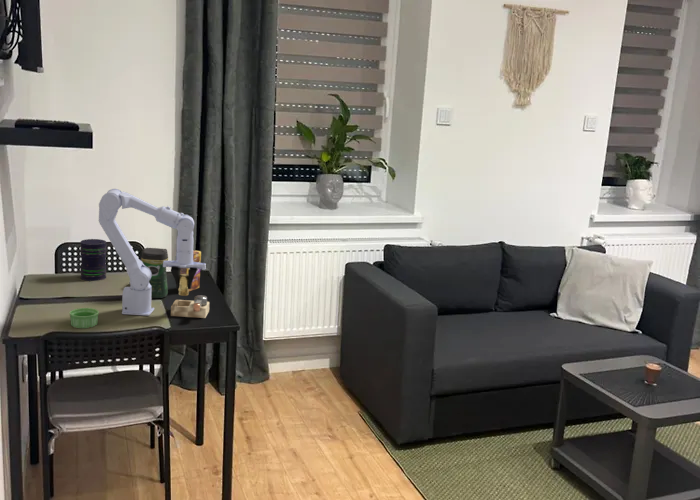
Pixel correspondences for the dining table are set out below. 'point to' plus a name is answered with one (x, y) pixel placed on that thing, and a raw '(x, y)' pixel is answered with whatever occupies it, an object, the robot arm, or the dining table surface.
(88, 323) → the ramekin
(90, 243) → the storage jar
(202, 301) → the copper tipped joystick
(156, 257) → the coffee jar
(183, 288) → the brass pin
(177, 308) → the birch block
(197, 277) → the candy box
